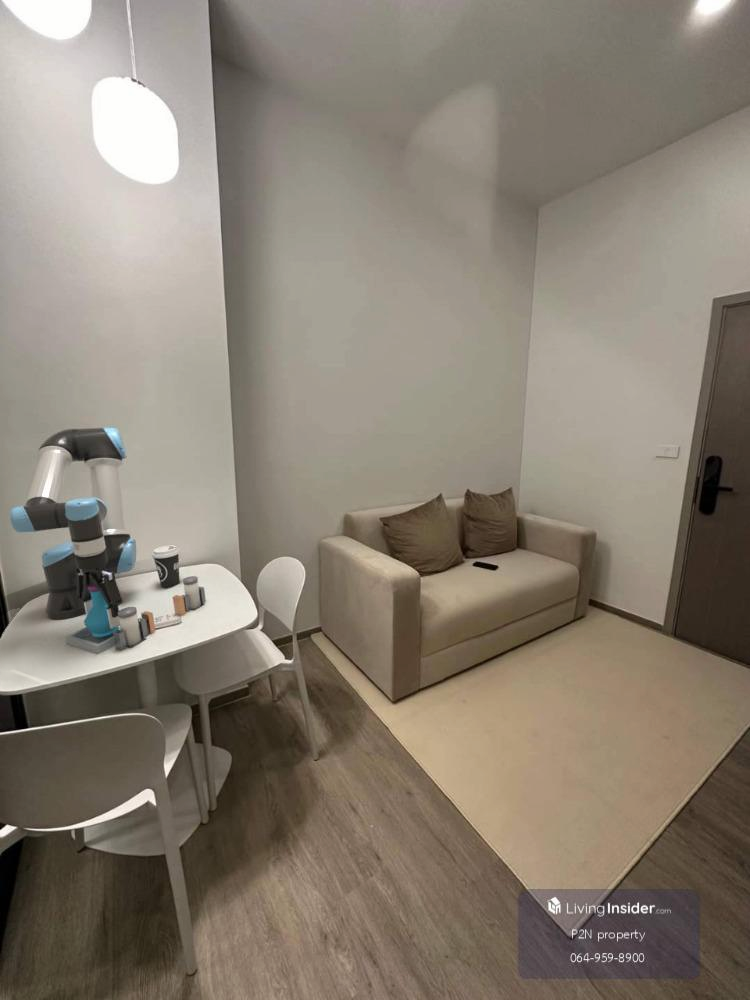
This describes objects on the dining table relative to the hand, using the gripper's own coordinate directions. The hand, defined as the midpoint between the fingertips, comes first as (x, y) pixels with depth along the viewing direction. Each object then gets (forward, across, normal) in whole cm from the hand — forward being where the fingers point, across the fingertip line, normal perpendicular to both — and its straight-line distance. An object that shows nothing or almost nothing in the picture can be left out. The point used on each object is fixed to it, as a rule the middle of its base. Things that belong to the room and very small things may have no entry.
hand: (104, 623), depth 119 cm
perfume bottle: (+3, 0, 0) cm, 3 cm away
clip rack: (+5, +11, +12) cm, 17 cm away
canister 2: (+4, +11, +24) cm, 26 cm away
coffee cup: (+5, -13, +35) cm, 38 cm away
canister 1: (+4, +11, 0) cm, 11 cm away
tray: (+5, 0, 0) cm, 5 cm away
